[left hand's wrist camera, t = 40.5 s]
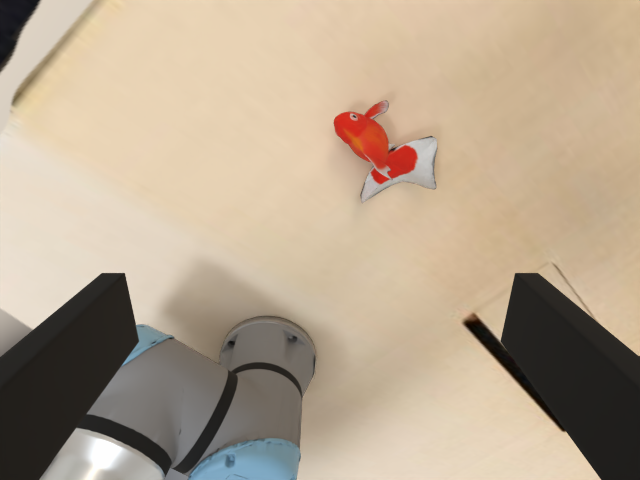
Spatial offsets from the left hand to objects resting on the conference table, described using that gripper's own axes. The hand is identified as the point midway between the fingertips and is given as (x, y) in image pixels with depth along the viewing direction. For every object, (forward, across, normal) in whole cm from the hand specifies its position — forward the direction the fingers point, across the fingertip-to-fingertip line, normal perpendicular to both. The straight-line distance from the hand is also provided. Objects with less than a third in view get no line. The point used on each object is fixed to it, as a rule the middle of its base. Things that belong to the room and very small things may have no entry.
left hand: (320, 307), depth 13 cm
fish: (+39, -8, 0) cm, 40 cm away
